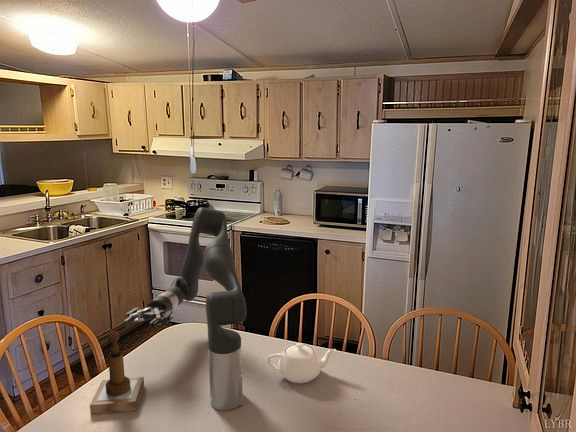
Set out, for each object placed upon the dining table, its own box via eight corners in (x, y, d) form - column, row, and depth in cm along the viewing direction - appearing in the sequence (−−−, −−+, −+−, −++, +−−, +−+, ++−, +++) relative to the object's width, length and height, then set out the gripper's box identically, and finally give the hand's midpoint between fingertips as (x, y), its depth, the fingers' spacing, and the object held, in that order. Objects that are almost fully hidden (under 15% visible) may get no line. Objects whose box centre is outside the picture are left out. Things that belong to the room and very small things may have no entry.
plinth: (144, 385, 128) (143, 376, 127) (136, 410, 116) (135, 400, 116) (103, 389, 126) (102, 379, 125) (90, 415, 114) (89, 404, 114)
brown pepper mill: (134, 383, 123) (129, 327, 120) (123, 397, 117) (118, 337, 114) (113, 382, 124) (108, 326, 121) (101, 395, 118) (95, 336, 114)
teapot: (268, 389, 126) (267, 356, 124) (267, 364, 140) (266, 335, 138) (339, 386, 128) (340, 354, 126) (331, 362, 141) (332, 333, 139)
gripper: (144, 293, 146) (116, 312, 130) (181, 296, 143) (158, 315, 127) (145, 313, 147) (118, 334, 131) (182, 317, 144) (159, 338, 129)
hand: (138, 325), depth 129 cm, fingers open, 8 cm apart
